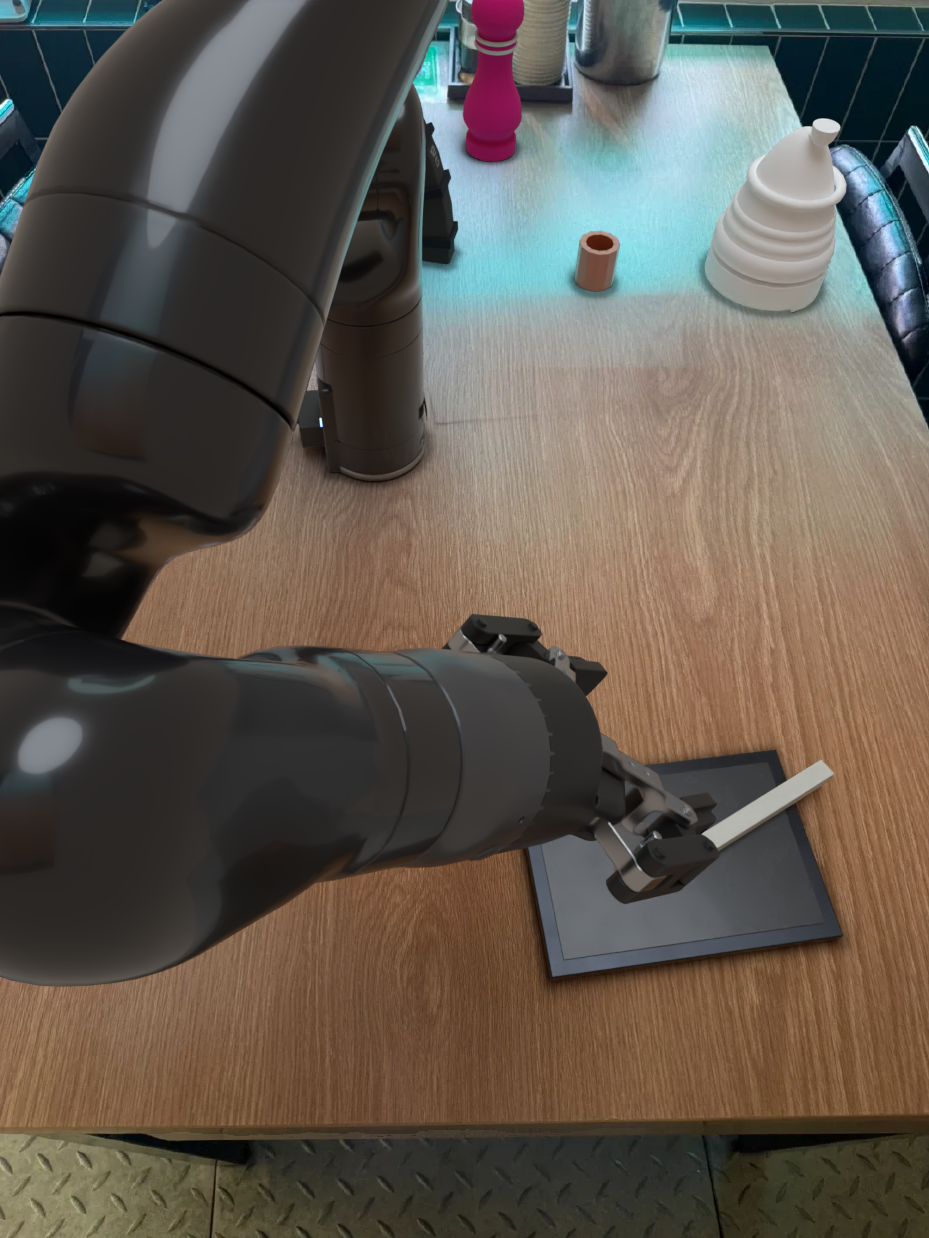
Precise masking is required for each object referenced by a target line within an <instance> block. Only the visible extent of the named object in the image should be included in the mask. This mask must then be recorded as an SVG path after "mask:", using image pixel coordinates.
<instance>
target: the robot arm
mask: <svg viewBox="0 0 929 1238" xmlns="http://www.w3.org/2000/svg"><path fill="white" fill-rule="evenodd" d="M450 1H451V0H160V1H159V2H158V3H157V4H155V5H154V6H152V7H151V8H150V9H149V10H147V11H146V13H144V14H143V15H142V16H141V17H140V18H139V19H138V20H136V21H135V22H133V24H132V25H131V26H129V27H128V28H127V29H126V30H125V31H124V32H123V33H122V34H121V35H120V36H119V37H118V38H117V40H116V41H114V42H113V44H112V45H111V46H110V47H109V48H108V49H107V50H106V51H105V52H104V53H103V54H102V55H101V57H100V58H99V59H98V60H97V61H96V63H95V64H94V65H93V66H92V68H91V69H90V70H89V72H88V73H87V74H86V76H85V77H84V78H83V80H82V81H81V82H80V83H79V85H78V86H77V87H76V89H75V90H74V92H72V93H71V96H70V97H69V99H68V101H67V102H66V104H65V106H64V108H63V110H61V113H60V115H59V116H58V118H57V119H56V121H55V123H54V125H53V127H52V129H51V131H50V133H49V136H48V138H47V140H46V143H45V145H44V147H43V149H42V152H41V154H40V157H39V159H38V161H37V164H36V167H35V170H34V173H33V175H32V179H31V182H30V184H29V188H28V191H27V194H26V197H25V200H24V203H23V206H22V210H21V212H20V216H19V218H18V221H17V225H16V227H15V231H14V233H13V237H12V240H11V241H10V246H9V249H8V252H7V255H6V258H5V260H4V264H3V266H2V270H1V273H0V978H2V979H5V980H9V981H11V982H16V983H22V984H27V985H32V986H39V987H57V988H58V987H59V988H63V987H65V988H66V987H67V988H68V987H70V988H71V987H92V986H101V985H111V984H118V983H124V982H130V981H135V980H140V979H143V978H147V977H149V976H153V975H157V974H159V973H163V972H166V971H168V970H171V969H173V968H175V967H177V966H180V965H183V964H185V963H187V962H188V961H191V960H192V959H195V958H197V957H199V956H200V955H202V954H204V953H205V952H208V951H209V950H210V949H211V950H212V948H214V947H216V946H217V945H219V944H221V943H222V942H224V941H226V940H228V939H229V938H231V937H233V936H234V935H236V934H238V933H239V932H241V931H242V930H245V929H246V928H248V927H249V926H251V925H253V924H255V923H256V922H258V921H260V920H261V919H263V918H265V917H266V916H268V915H270V914H271V913H273V912H275V911H277V910H279V909H281V908H282V907H283V906H285V905H286V904H288V903H290V902H291V901H293V900H294V899H296V898H297V897H299V896H300V895H301V894H303V893H304V892H305V891H307V890H308V889H309V888H311V887H313V885H315V884H320V883H326V882H327V883H328V882H334V881H339V880H344V879H349V878H353V877H359V876H364V875H368V874H373V873H379V872H383V871H386V870H392V869H399V868H401V869H425V868H437V867H443V866H448V865H452V864H453V865H454V864H458V863H462V862H467V861H469V862H475V861H476V862H478V861H483V860H486V859H488V858H491V857H492V856H495V855H499V854H503V853H510V852H513V851H517V850H523V849H525V848H527V847H532V846H537V845H541V844H544V843H548V842H551V841H554V840H556V839H559V838H561V837H564V836H567V835H573V836H576V837H579V838H581V839H583V840H586V841H598V843H599V844H600V846H601V847H602V849H603V850H604V851H605V853H606V854H607V856H608V857H609V859H610V860H611V861H612V863H613V864H614V871H615V872H614V873H613V874H612V875H611V876H610V877H609V878H607V880H606V885H607V888H608V890H609V892H610V893H611V894H612V896H613V897H614V898H615V899H616V900H618V901H619V902H621V903H623V904H628V903H633V902H637V901H641V900H645V899H650V898H654V897H658V896H662V895H667V894H671V893H675V892H679V891H680V890H682V889H683V888H684V887H685V886H686V885H687V884H689V883H690V882H691V881H692V880H693V879H694V878H695V877H697V876H698V875H699V874H700V873H701V872H702V871H704V870H705V869H706V868H707V867H708V866H709V865H711V864H712V863H713V862H714V861H715V860H716V859H718V858H719V857H720V853H719V851H718V849H717V847H716V845H715V844H714V843H713V842H712V841H711V840H710V839H709V838H707V837H706V836H704V835H702V834H703V833H704V832H705V831H706V830H707V829H708V828H709V827H710V826H712V825H713V824H714V823H715V822H716V817H715V815H714V814H713V813H712V812H711V810H713V809H714V808H715V807H716V805H717V803H716V802H715V801H714V800H713V798H712V797H711V796H710V795H709V794H708V792H706V793H700V794H695V795H689V796H684V797H680V798H677V797H675V796H674V795H672V794H670V793H669V792H667V791H665V790H664V788H663V785H662V783H661V780H660V778H659V775H658V774H657V773H656V772H654V771H653V770H651V769H649V768H648V767H646V766H645V764H643V763H641V762H640V761H638V760H636V759H635V758H633V757H632V756H630V755H628V754H627V753H625V752H623V751H622V750H620V749H619V747H618V744H617V742H616V741H615V740H614V739H612V738H610V736H608V735H606V734H604V733H603V732H601V728H600V725H599V722H598V718H597V715H596V713H595V711H594V708H593V705H592V704H591V702H590V701H589V699H588V696H589V695H590V694H591V693H592V691H594V690H595V688H596V687H598V685H599V684H600V683H602V681H603V680H604V679H605V678H606V677H607V676H608V674H609V673H608V671H607V670H606V669H605V667H604V666H603V665H602V664H601V662H599V661H595V660H594V661H593V660H587V659H585V658H583V657H581V656H575V655H574V656H573V655H567V653H566V652H565V651H564V650H563V649H561V648H560V647H558V646H556V645H551V646H550V647H549V648H547V647H546V646H544V644H542V643H541V642H540V641H539V639H540V638H541V637H542V635H543V632H542V630H541V629H540V627H539V626H538V625H537V623H535V622H534V621H532V620H530V619H529V618H526V617H516V616H515V617H514V616H502V615H490V614H479V613H478V614H477V613H472V614H470V615H469V616H468V617H467V618H466V620H465V621H464V622H463V623H462V624H461V625H460V626H459V627H458V629H456V631H455V632H454V633H453V635H451V637H450V638H449V639H448V640H447V641H446V643H445V644H444V645H443V646H442V647H441V648H437V647H411V648H403V649H397V650H395V649H394V650H373V649H372V650H371V649H360V648H350V647H349V648H347V647H337V646H336V647H335V646H329V645H306V644H305V645H304V644H293V645H278V646H272V647H265V648H259V649H256V650H254V651H251V652H248V653H246V654H243V655H240V656H238V657H229V656H220V655H212V654H205V653H199V652H193V651H186V650H181V649H180V650H179V649H172V648H168V647H161V646H154V645H149V644H143V643H139V642H134V641H129V640H125V639H124V636H125V634H126V633H127V631H128V629H129V628H130V627H129V626H130V625H131V624H132V621H133V619H134V617H135V615H136V614H137V612H138V611H139V609H140V606H141V605H142V603H143V601H144V599H145V598H146V595H147V594H148V592H149V591H150V588H151V587H152V585H153V583H155V580H156V579H157V577H158V575H159V574H160V573H161V571H162V570H163V569H164V568H165V567H166V566H167V565H168V564H169V563H171V562H172V561H173V560H174V559H176V558H178V557H180V556H183V555H185V554H189V553H192V552H195V551H199V550H204V549H208V548H213V547H219V546H221V545H225V544H228V543H231V542H234V541H236V540H239V539H241V538H242V537H244V536H245V535H247V534H249V533H250V532H251V531H252V530H253V529H254V528H255V527H256V526H258V524H259V522H261V520H262V519H263V517H264V516H265V514H266V512H267V511H268V509H269V507H270V505H271V502H272V500H273V498H274V495H275V493H276V490H277V488H278V485H279V482H280V480H281V477H282V474H283V471H284V467H285V465H286V461H287V459H288V454H289V451H290V449H291V448H290V447H291V444H292V441H293V437H294V432H295V431H296V427H297V425H298V427H299V428H298V430H299V435H300V436H299V437H300V441H301V447H302V448H303V449H306V448H308V449H309V448H318V447H324V449H325V457H326V465H327V471H328V472H329V473H342V474H344V475H345V476H348V477H350V478H353V479H357V480H361V481H367V482H368V481H369V482H378V481H379V482H380V481H386V480H391V479H395V478H397V477H400V476H403V475H404V474H406V473H408V472H409V471H411V470H413V468H414V467H416V466H417V464H418V463H419V462H420V461H421V459H422V457H423V456H424V453H425V450H426V434H425V419H426V420H428V407H427V403H426V396H425V389H424V388H425V387H424V385H425V383H424V382H425V381H424V380H425V379H424V296H423V295H424V293H423V260H422V223H423V202H424V185H425V159H426V141H425V126H424V119H425V116H424V112H423V105H422V101H421V98H420V96H419V92H418V90H417V88H416V86H415V84H414V82H415V80H416V78H417V76H419V73H420V72H421V70H422V68H423V65H424V62H425V60H426V57H427V55H428V52H429V48H430V46H431V43H432V42H433V40H434V37H435V35H436V32H437V30H438V28H439V26H440V24H441V22H442V19H443V17H444V15H445V13H446V10H447V7H448V5H449V3H450ZM314 367H315V372H316V385H317V386H316V387H317V389H312V390H308V386H309V383H310V379H311V376H312V372H313V371H314V370H313V368H314ZM625 781H627V782H628V783H630V784H632V785H633V787H632V788H631V789H630V790H629V791H628V792H627V793H626V794H625ZM652 812H660V813H662V815H660V816H659V817H658V818H657V819H656V820H655V821H654V822H653V823H652V824H651V825H649V826H648V825H646V824H644V823H642V821H643V820H644V819H645V818H646V817H647V816H648V815H649V814H651V813H652Z"/></svg>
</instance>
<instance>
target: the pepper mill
mask: <svg viewBox="0 0 929 1238" xmlns="http://www.w3.org/2000/svg"><path fill="white" fill-rule="evenodd" d="M470 6H471V7H470V17H471V20H472V22H473V24H474V26H475V27H476V30H475V31H474V42H473V43H474V47H475V49H476V50H477V64H476V65H477V66H476V71H475V74H474V76H473V79H472V82H471V84H470V86H469V88H468V90H467V92H466V96H465V98H464V102H463V108H462V120H463V122H464V124H465V125H466V127H467V128H468V129H467V131H466V133H465V148H466V152H467V154H469V155H470V156H471V157H473V158H475V159H476V160H480V161H483V162H500V161H503V160H507V159H509V158H511V157H512V156H513V154H514V153H515V152H516V147H517V134H516V132H515V131H516V130H517V129H518V128H519V127H520V125H521V122H522V120H523V119H522V118H523V107H522V102H521V96H520V94H519V91H518V88H517V85H516V82H515V79H514V74H513V58H514V52H515V51H516V50H517V49H518V47H519V44H518V43H519V42H518V39H519V33H518V29H520V27H521V26H522V24H523V22H524V18H525V1H524V0H471V5H470Z"/></svg>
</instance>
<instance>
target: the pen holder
mask: <svg viewBox="0 0 929 1238" xmlns="http://www.w3.org/2000/svg"><path fill="white" fill-rule="evenodd" d="M620 248H621V243H620V241H619V238H618V237H617V236H616V235H614V234H613V233H610V232H608V231H604V230H592V231H591V230H590V231H588V232H586V233H584V234H582V235H581V237H580V239H579V240H578V249H577V255H576V260H575V261H576V262H575V269H574V277H573V278H574V281H575V283H576V285H577V286H578V287H579V288H581V289H583V290H586V291H589V292H604V291H606V290H608V289H610V288H611V287H612V285H613V283H614V280H615V276H616V271H617V265H618V259H619V253H620Z"/></svg>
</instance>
